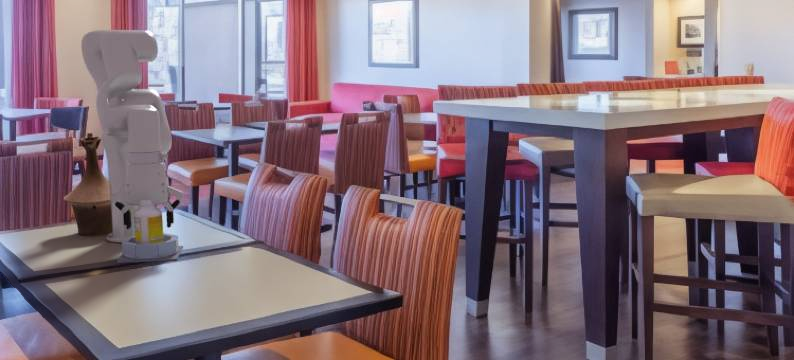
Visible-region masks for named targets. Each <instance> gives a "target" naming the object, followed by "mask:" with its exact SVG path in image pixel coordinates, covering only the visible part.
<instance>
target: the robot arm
mask: <svg viewBox="0 0 794 360" xmlns="http://www.w3.org/2000/svg"><path fill="white" fill-rule="evenodd" d="M81 53H82V54H81V55H82V58H83V63H84V64H85V67H86V69H87V71H88V73H89V74H90V76H91V77H92V79H93V81H94V83H95V85H96V90H97V95H96V99H95V101H96V102H95V103H96V111H97V117H98V122H99V125H100V127H101V130H102V141H103V143H102V144H103V147H104V151H105V152H104V153H105V155H106V156H105V157H106V162H107V169H108V170H107V171H108V180H109V185H110V201H111V216H112V233H110V234H108V235H106V240H107V241H108V242H111V243H121V244H122V241H123V240H124V239H125V238H127V237H132V236H135V224H134V212H135V211H136V210H137V209H138V205H140V203H141V201H142V200H151V202H152V204H153V205H156V206H157V205H163V207H165V208H166V215H165V216H166V227H167V228H168V229H169V228H171V227H172V224H174V222H175V220H174V219H175V218H174V217H175V216H174V210H175V209H176V208H177V207H178V206H179V205H180V203H181V201H182V200H183V198H184V194H185V192H184V191H182V190H179V189H177V188H174V187H173V186H170V183H169V175H168V174H169V173H168V169H167V165H166V163H165V162H162V161H163V160H165V159H166V160H167V159H168V152H169V151H170V150H171V149H172V146H173V140H172V132H171V129H170V125H169V121H168V117H167V114H166V110H165V107H164V103H163V100H162V97H161V94H159V93H158V91H156V90H155V89H152V88H151V89H150V88H137V86H139V85H140V84H141V82H142V80H143V72H142V69H141V65H140V63H145V62H146V63H148V62H149V63H151V62H154V61H155V60H156V59H157V57H158V53H159V48H158V42H157V39H156V37H155V35H154V34H153V33H152V32H151V31H150V30H141V29H98V30H91V31H89V32H87V33H85V34H84V35H83V36H82V39H81ZM170 194H172V195H174V196H176V199H175V200H174V201H173V202H171V201H170Z"/></svg>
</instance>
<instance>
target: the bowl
mask: <svg viewBox="0 0 794 360" xmlns="http://www.w3.org/2000/svg"><path fill="white" fill-rule="evenodd" d="M163 237H164V241H163V242H159V243H148V244H136V239H135V236H132V237H127V238H125V239H124V240H123V241H122V243H121V252H122V254H123V255H124V257H125V258H128V259H136V260H148V259H159V258H165V257H169V256H172V255H175V254H177V253H178V247H179V246H180V245H179V235H176V234H173V233H172V234H170V233H167V232H166V233H165V232H163ZM122 254H121V255H122Z"/></svg>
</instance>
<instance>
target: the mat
mask: <svg viewBox="0 0 794 360" xmlns="http://www.w3.org/2000/svg"><path fill="white" fill-rule="evenodd" d="M183 249H184V246H183V245H179V247H178V253H177V254H175V255H172V256H169V257H165V258H159V259H148V260H136V259H128V258H125V257H124V255H123V254H121V255H120V256H119V258H117V260H116V264H123V263H124V264H127V263H129V264H130V263H146V262H168V261H169V262H170V261H178V259H179V257H180V255H181V253H182V251H181V250H183ZM180 252H181V253H180Z"/></svg>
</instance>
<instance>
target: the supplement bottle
mask: <svg viewBox="0 0 794 360" xmlns="http://www.w3.org/2000/svg"><path fill="white" fill-rule="evenodd" d="M163 223H164V222H163V211H162V210H161V209H160V208H159V207H157V205H153V204H152V202H151V200H142V201H141V203H140V205H138V209H137V210H136V211H135V212H134V224H135V239H136V244H148V243H159V242H163V241H164V237H163V233H164V227H163V225H164V224H163Z"/></svg>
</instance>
